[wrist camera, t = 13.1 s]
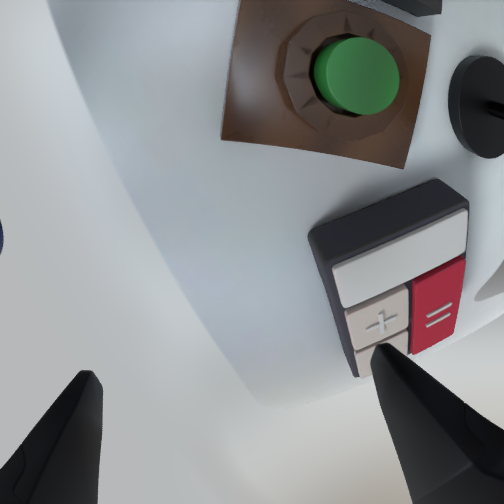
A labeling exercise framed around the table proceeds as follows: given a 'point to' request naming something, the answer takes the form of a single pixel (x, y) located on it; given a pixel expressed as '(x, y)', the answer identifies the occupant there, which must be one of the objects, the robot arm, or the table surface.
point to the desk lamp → (478, 105)
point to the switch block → (304, 86)
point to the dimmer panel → (418, 6)
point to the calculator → (395, 271)
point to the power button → (357, 75)
